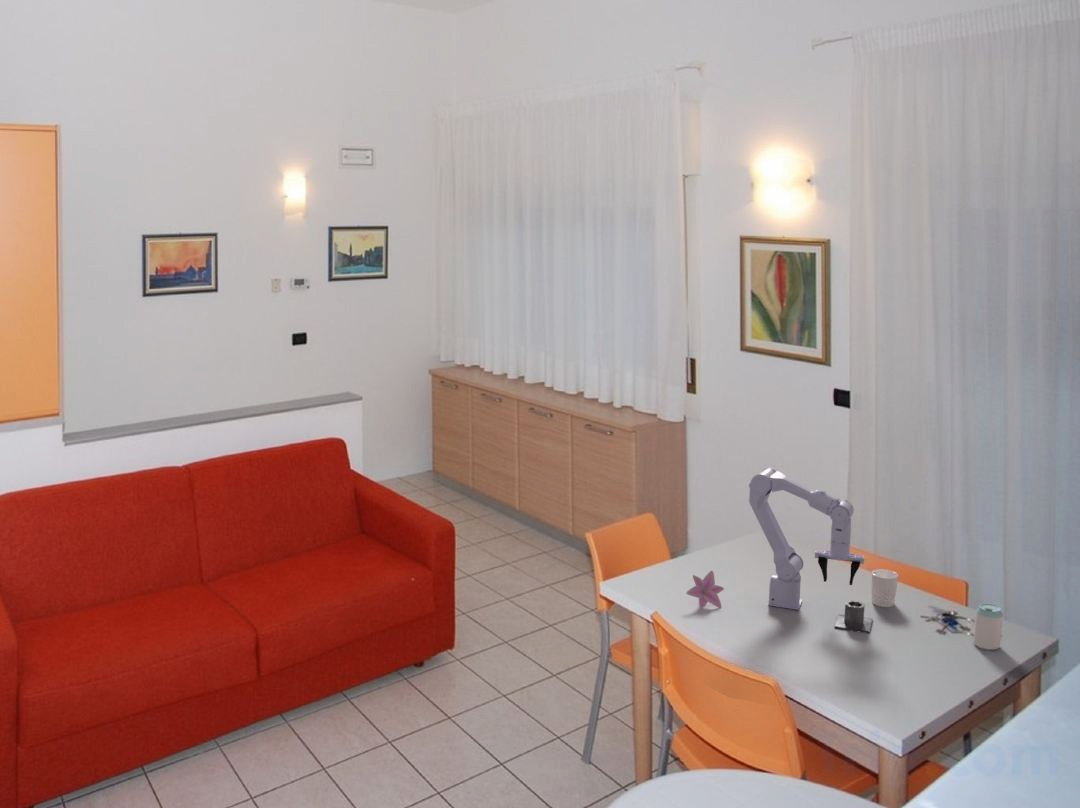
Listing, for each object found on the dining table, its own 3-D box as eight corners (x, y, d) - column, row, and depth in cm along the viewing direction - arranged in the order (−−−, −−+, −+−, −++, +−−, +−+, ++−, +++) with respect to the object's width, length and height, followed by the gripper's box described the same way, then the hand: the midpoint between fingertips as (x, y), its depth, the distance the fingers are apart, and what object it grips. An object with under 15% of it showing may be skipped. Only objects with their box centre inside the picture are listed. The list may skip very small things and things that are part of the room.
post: (834, 628, 304) (835, 610, 302) (838, 615, 313) (839, 597, 311) (869, 633, 300) (870, 615, 299) (872, 620, 309) (873, 602, 308)
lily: (679, 609, 320) (689, 590, 314) (684, 583, 329) (694, 564, 323) (715, 622, 319) (725, 603, 313) (719, 595, 328) (729, 576, 322)
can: (1004, 651, 288) (1008, 611, 286) (980, 652, 288) (984, 612, 285) (991, 640, 295) (995, 602, 293) (968, 641, 295) (972, 602, 292)
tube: (843, 624, 304) (844, 606, 303) (845, 617, 309) (846, 599, 308) (862, 627, 302) (863, 608, 301) (863, 620, 307) (865, 602, 306)
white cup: (897, 609, 317) (899, 579, 315) (871, 607, 319) (873, 577, 317) (894, 599, 325) (896, 570, 323) (868, 597, 326) (870, 568, 324)
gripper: (814, 541, 308) (812, 583, 311) (863, 547, 303) (861, 590, 305) (817, 534, 314) (815, 575, 317) (866, 540, 309) (863, 581, 312)
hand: (838, 582), depth 312 cm, fingers open, 7 cm apart
